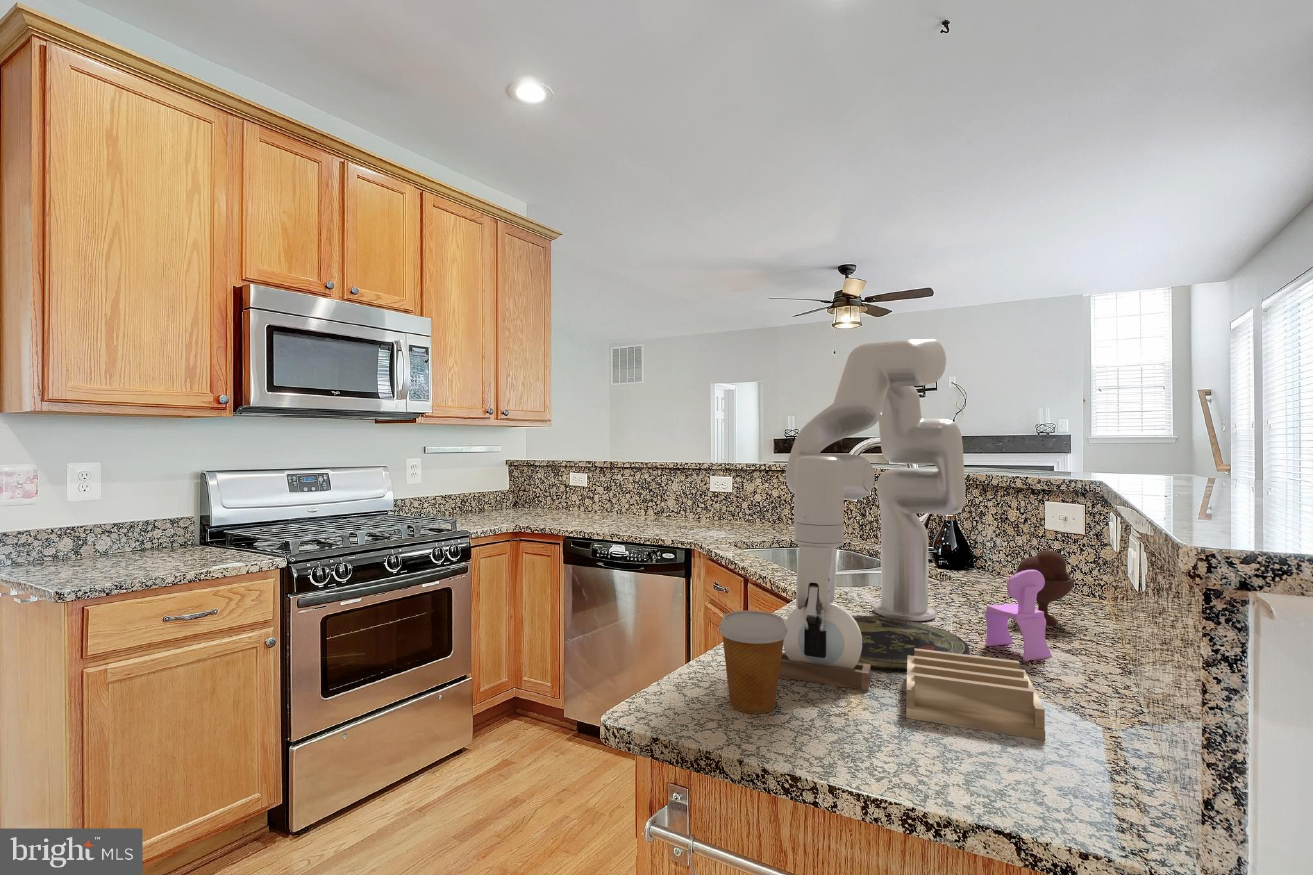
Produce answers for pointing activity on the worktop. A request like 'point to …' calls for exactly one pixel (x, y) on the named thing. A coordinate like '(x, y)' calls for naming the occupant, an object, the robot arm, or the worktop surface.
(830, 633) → the side plate
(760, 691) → the disposable coffee cup
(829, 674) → the plate stand
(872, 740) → the worktop surface
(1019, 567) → the ice cream bowl
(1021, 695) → the dish rack
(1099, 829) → the worktop surface
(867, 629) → the decorative plate
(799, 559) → the robot arm
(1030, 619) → the toy chair
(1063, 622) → the worktop surface
